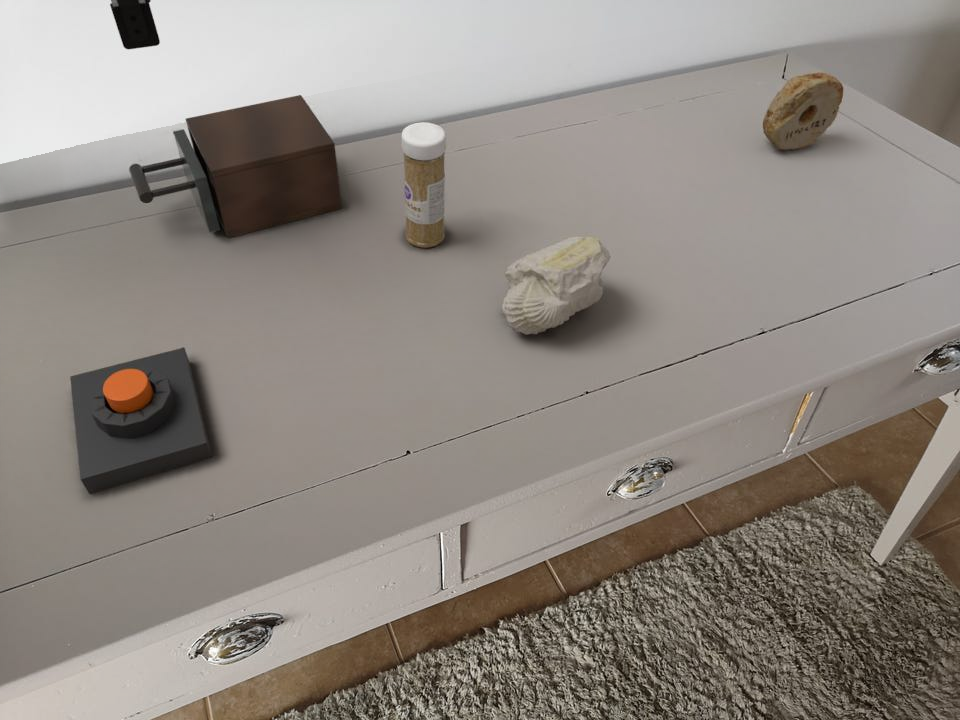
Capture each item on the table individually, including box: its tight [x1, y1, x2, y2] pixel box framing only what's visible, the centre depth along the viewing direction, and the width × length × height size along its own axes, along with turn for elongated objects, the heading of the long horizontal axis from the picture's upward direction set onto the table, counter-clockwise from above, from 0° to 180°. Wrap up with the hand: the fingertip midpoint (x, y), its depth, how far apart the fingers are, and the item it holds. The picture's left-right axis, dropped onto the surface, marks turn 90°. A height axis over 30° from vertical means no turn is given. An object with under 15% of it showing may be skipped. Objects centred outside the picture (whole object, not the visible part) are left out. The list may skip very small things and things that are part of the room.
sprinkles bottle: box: [401, 121, 447, 249], centre depth 84 cm, size 5×5×13 cm
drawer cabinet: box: [185, 94, 343, 239], centre depth 90 cm, size 14×12×9 cm
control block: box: [69, 347, 213, 494], centre depth 68 cm, size 12×10×4 cm
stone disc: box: [762, 72, 844, 151], centre depth 102 cm, size 10×4×10 cm, turn 111°
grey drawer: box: [128, 129, 221, 233], centre depth 88 cm, size 18×10×7 cm, turn 117°
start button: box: [103, 369, 153, 413], centre depth 66 cm, size 4×4×2 cm
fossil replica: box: [501, 236, 611, 335], centre depth 78 cm, size 12×8×10 cm
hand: (138, 24), depth 75 cm, fingers open, 9 cm apart
